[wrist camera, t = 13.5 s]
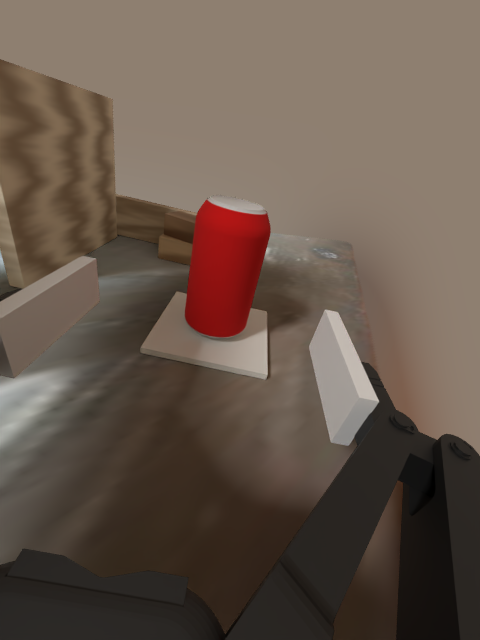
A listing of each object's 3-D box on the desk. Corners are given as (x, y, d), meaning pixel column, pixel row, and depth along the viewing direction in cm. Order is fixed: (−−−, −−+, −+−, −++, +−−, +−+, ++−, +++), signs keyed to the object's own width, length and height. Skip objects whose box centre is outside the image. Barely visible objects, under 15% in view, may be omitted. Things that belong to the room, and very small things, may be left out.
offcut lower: (203, 269, 42) (207, 247, 40) (157, 259, 41) (159, 236, 39) (208, 258, 46) (212, 238, 44) (167, 249, 45) (168, 228, 44)
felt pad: (140, 352, 23) (140, 347, 23) (176, 295, 33) (176, 291, 32) (265, 379, 24) (267, 374, 23) (265, 315, 33) (267, 311, 33)
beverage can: (201, 304, 31) (218, 190, 25) (251, 324, 30) (283, 209, 23) (171, 329, 26) (183, 194, 20) (230, 354, 25) (263, 218, 18)
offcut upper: (198, 246, 39) (201, 225, 38) (163, 234, 41) (164, 213, 39) (211, 241, 43) (214, 221, 41) (178, 230, 44) (180, 210, 42)
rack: (188, 324, 28) (216, 110, 19) (9, 285, 27) (-55, 42, 18) (219, 255, 48) (241, 132, 38) (115, 231, 47) (111, 99, 37)
